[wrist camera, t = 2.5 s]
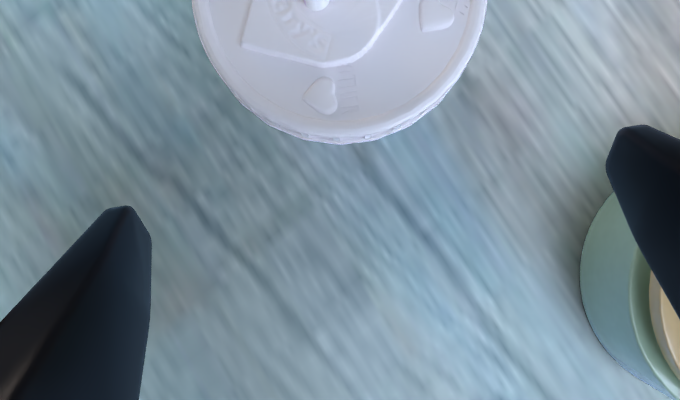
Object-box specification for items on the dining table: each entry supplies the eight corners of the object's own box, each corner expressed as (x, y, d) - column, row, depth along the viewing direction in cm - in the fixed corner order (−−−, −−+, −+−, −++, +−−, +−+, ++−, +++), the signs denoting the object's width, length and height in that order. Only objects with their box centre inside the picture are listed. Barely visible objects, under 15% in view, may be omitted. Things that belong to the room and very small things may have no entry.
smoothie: (232, 59, 20) (-30, -276, 6) (368, -18, 20) (443, -549, 6) (310, 195, 20) (240, 197, 6) (445, 118, 20) (708, -70, 6)
